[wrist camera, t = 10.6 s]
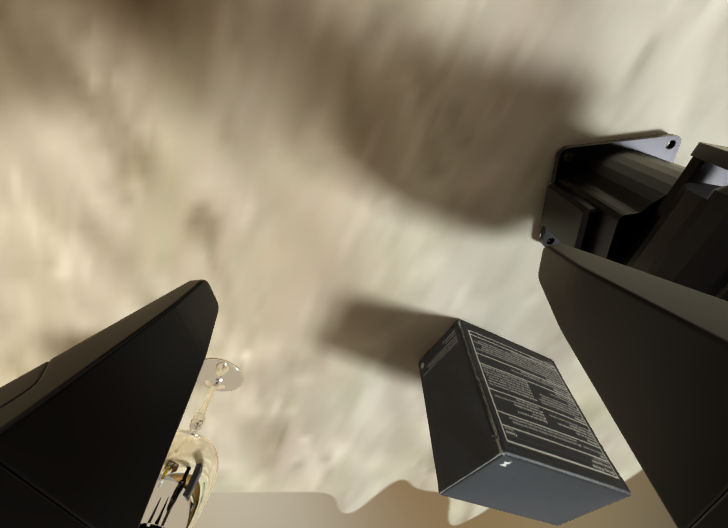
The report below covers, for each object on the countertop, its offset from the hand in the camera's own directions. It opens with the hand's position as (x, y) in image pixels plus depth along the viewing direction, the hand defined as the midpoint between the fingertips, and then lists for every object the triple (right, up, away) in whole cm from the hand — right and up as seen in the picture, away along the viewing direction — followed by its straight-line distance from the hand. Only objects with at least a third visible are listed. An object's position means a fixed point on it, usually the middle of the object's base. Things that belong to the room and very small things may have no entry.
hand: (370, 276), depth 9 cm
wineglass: (-14, -10, +22) cm, 27 cm away
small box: (+10, -8, +20) cm, 24 cm away
